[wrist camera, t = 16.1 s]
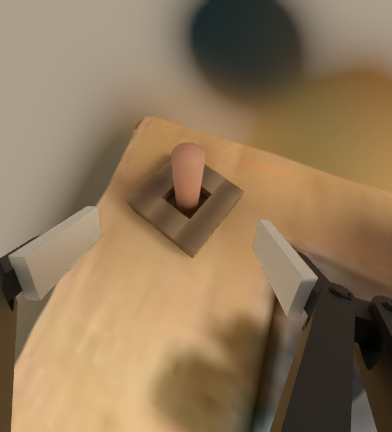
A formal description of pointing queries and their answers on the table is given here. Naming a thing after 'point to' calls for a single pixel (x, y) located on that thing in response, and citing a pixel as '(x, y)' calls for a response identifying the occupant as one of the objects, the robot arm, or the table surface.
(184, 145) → the pin
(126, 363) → the table surface
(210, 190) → the socket block
